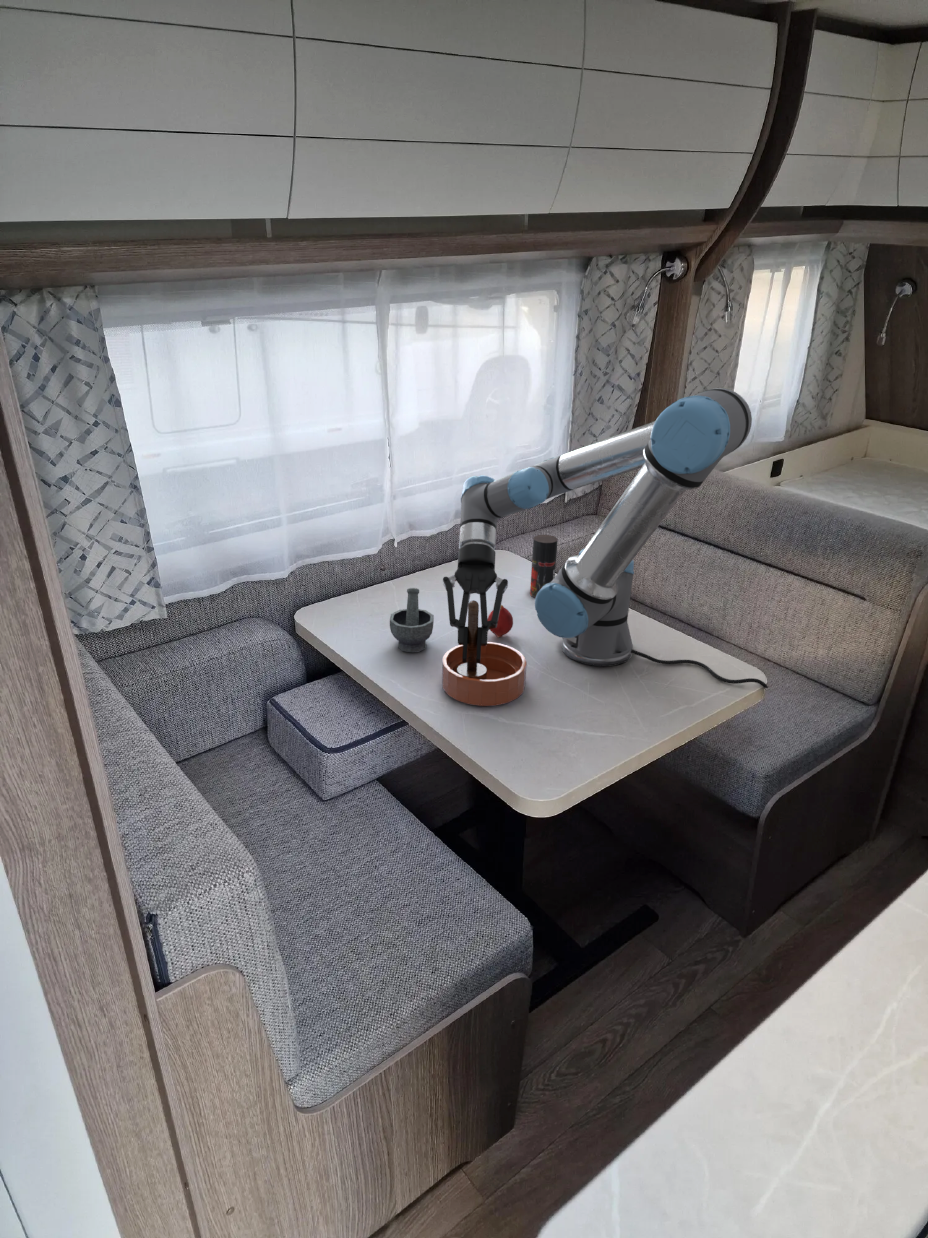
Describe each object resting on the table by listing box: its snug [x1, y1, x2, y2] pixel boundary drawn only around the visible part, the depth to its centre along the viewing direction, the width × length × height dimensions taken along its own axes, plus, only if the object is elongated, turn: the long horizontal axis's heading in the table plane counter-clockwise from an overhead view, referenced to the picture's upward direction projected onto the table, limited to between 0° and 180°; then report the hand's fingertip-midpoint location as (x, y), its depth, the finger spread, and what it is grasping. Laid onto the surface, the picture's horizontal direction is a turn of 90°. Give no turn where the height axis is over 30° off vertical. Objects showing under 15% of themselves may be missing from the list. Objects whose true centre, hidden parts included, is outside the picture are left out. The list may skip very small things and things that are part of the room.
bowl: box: [441, 641, 528, 707], centre depth 163 cm, size 17×17×6 cm
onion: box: [487, 604, 514, 638], centre depth 183 cm, size 6×6×8 cm
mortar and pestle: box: [389, 587, 435, 653], centre depth 178 cm, size 11×9×12 cm
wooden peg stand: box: [457, 600, 487, 680], centre depth 160 cm, size 6×6×17 cm
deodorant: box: [529, 534, 559, 599], centre depth 204 cm, size 6×6×15 cm
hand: (471, 660), depth 158 cm, fingers closed on wooden peg stand, 2 cm apart
